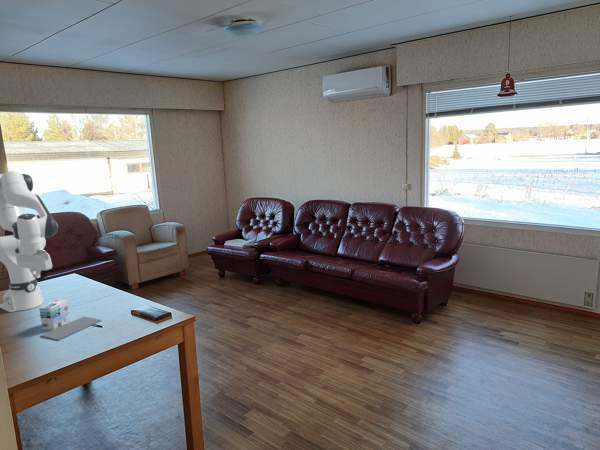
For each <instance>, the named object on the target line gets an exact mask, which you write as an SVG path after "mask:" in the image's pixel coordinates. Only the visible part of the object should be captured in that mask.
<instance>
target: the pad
mask: <svg viewBox="0 0 600 450" xmlns="http://www.w3.org/2000/svg"><path fill="white" fill-rule="evenodd" d="M100 322H102V319H98V318H94V317H89V316H81V317H79V318H78V319H74V320H73V321H70V322H68V323H67V324H65V325H63V326H61V327H58V328H56V329H54V330H48V331H47V332H46V333H43V334H41V335H40V337H41V338H45V339H48V340H49V339H50V340H54V341H58V342H60V341H62V340H64V339H66V338H68V337H70V336H72V335H75V334H76V333H78V332H81V331H83V330H85V329H87V328H90V327H92V326H93V325H96V324H98V323H100Z"/></svg>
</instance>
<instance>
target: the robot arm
mask: <svg viewBox="0 0 600 450" xmlns="http://www.w3.org/2000/svg"><path fill="white" fill-rule="evenodd" d="M33 189H34V180H33V178H32V176H30V175H29V174H27V173H26V174H25V173H22V174H20V173H19V172H18V171H14V170H12V171H7V172H5V173H0V227H1V228H2V229H4V230H6V231H9V232H12V233H13V234H12V235H4V236H0V262H1V263H2V264H3V265H4V266H5V268H6V270H7V273H8V276H9V280H10V282H9V283H8V287H9V289H8V290H7V291H6V292H5V293H4V294H3V296H2V303H0V309H1V310H4V311H6V312H8V313H13V312H19V311H27V310H30V309H34V308H37V307H39V306H41V305H42V304H44V301H45V297H43V295H42V292H41V288H40V286H38V280H37V279H39V278H41V273H42V271H45V272H46V271H49V270H52V269H53V263H52V258H51V256H50V254H49V253H48V252H47V250H44V249H45V247H46V244H47V240H46V238H53V237H54V236H56V234H57V233H58V232H59V225H58V223H57V221H56V218H54V217H53V216H52V214H51V213H50V211H49V210H48V208H47V207H46V205H45V203H44V201H43V200H42V199H41V197H40V196H39V195H38V194H36V193H33V192H32V191H33ZM23 208H25V209H31V210H34V211H35V212H36V213H37V214H38V216H39V218H38V217H37V215H36V214H34V213H24V209H23Z"/></svg>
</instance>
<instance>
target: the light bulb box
mask: <svg viewBox="0 0 600 450" xmlns="http://www.w3.org/2000/svg"><path fill="white" fill-rule="evenodd" d="M38 310H39V315H40V322H41V327H42V328H41V329H42V330H45V331H52V330H54V329H56V328H58V327H61V326H63V325H65V324H68V323H70V322H71V317H70V316H71V315H70V310H69V303H68V300H65V299H64V300H63V299H62V300H61V299H55V300H53V301H51V302H49V303H46V304H44V305H42V306H40V307H38Z"/></svg>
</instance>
